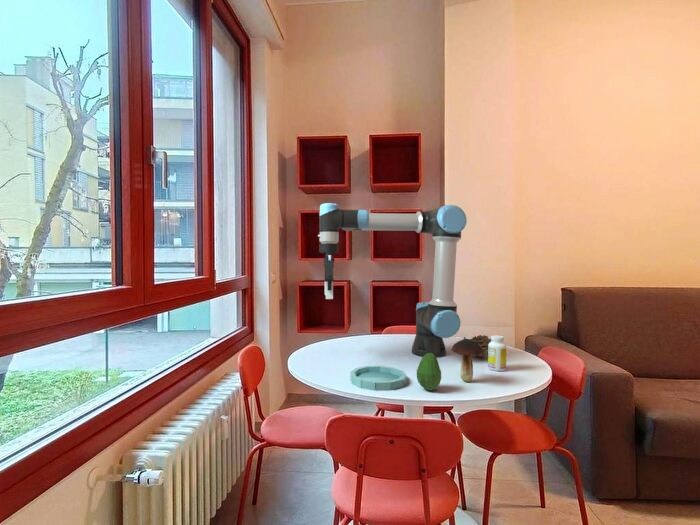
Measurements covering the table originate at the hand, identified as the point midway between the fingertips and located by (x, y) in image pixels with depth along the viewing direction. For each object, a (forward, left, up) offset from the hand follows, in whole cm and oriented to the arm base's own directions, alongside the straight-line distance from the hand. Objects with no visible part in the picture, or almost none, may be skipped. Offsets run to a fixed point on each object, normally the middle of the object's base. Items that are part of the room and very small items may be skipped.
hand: (328, 296), depth 152 cm
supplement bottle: (-65, +10, -27) cm, 72 cm away
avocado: (-31, +30, -27) cm, 51 cm away
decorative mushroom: (-47, +23, -27) cm, 59 cm away
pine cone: (-66, -11, -27) cm, 73 cm away
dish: (-16, +20, -27) cm, 38 cm away
